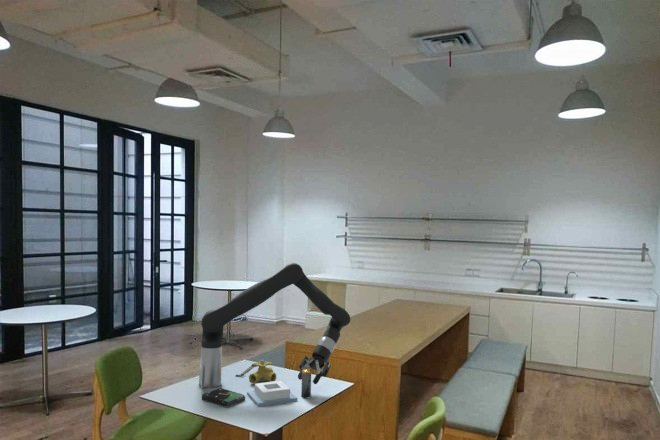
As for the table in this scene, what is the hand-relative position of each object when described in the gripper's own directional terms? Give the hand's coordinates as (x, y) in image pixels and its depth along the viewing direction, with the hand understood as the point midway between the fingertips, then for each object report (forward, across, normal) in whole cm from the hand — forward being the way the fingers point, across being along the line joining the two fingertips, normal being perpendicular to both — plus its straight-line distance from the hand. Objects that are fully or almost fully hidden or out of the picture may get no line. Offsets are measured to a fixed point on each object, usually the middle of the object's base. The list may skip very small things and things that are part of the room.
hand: (306, 380), depth 197 cm
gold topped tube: (+5, 0, +4) cm, 6 cm away
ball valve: (+4, -27, +5) cm, 28 cm away
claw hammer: (0, -44, +10) cm, 45 cm away
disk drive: (+24, -22, -14) cm, 35 cm away
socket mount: (+12, -10, -3) cm, 16 cm away
